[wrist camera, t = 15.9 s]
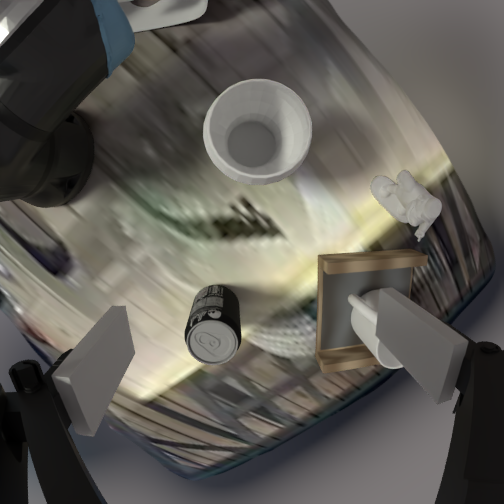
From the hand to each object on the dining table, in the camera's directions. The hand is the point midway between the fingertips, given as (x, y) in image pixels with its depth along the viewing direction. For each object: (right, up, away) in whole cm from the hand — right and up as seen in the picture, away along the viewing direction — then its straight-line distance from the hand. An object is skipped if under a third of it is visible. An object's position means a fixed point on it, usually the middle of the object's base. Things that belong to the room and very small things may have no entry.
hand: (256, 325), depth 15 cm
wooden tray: (+18, -5, +32) cm, 36 cm away
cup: (0, +18, +26) cm, 31 cm away
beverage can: (-5, -4, +30) cm, 31 cm away
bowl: (-17, +46, +19) cm, 53 cm away
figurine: (+21, +11, +29) cm, 37 cm away
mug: (+17, -5, +30) cm, 35 cm away
